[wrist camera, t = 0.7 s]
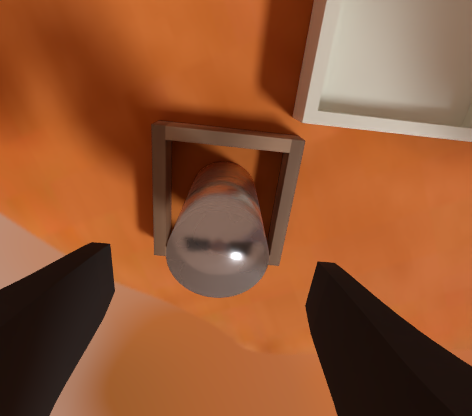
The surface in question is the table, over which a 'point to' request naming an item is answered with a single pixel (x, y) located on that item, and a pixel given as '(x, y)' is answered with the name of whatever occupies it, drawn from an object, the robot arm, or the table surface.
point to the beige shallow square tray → (389, 67)
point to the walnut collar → (233, 138)
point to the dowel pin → (219, 234)
